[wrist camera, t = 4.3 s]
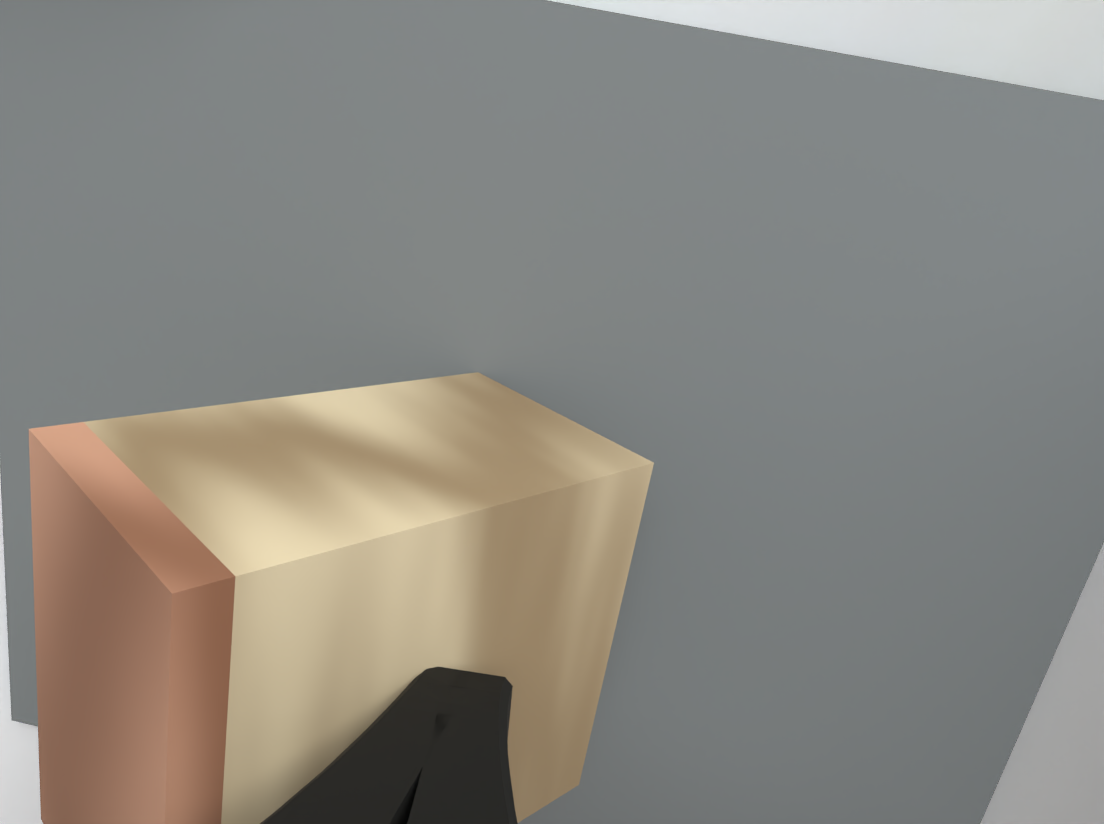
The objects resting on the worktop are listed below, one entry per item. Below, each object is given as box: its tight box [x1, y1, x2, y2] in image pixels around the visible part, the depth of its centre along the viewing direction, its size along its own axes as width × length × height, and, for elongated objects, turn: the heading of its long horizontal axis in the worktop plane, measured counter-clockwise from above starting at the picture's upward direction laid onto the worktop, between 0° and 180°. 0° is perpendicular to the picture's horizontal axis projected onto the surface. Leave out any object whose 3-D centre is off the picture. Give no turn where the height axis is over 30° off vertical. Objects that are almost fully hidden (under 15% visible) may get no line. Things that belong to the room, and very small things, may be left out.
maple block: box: [29, 372, 654, 824], centre depth 13 cm, size 4×6×7 cm
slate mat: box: [0, 0, 1104, 824], centre depth 16 cm, size 20×16×1 cm
